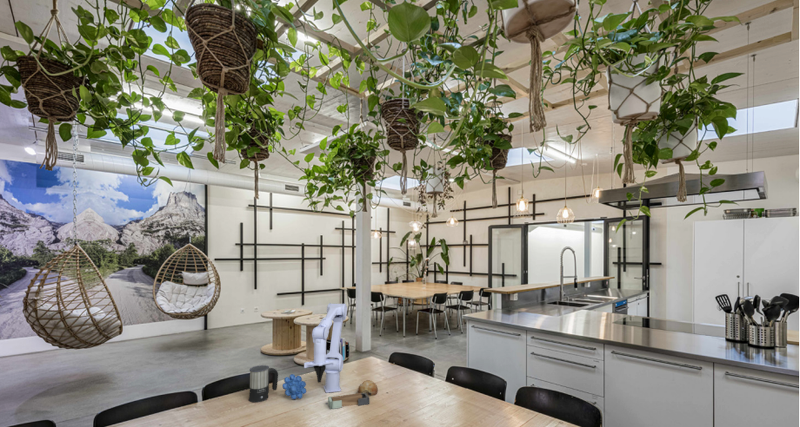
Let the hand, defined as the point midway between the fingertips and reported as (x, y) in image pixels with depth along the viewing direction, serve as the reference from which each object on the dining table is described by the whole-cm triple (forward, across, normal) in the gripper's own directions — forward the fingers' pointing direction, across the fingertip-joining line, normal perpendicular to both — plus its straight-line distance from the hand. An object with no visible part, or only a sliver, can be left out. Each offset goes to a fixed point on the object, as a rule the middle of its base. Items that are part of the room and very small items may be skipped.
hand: (319, 381), depth 178 cm
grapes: (+11, -11, +9) cm, 18 cm away
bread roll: (+11, +25, +7) cm, 28 cm away
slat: (+11, +13, -4) cm, 17 cm away
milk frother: (+11, -28, +20) cm, 36 cm away
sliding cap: (+10, +7, -4) cm, 13 cm away
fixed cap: (+10, +20, -4) cm, 23 cm away
